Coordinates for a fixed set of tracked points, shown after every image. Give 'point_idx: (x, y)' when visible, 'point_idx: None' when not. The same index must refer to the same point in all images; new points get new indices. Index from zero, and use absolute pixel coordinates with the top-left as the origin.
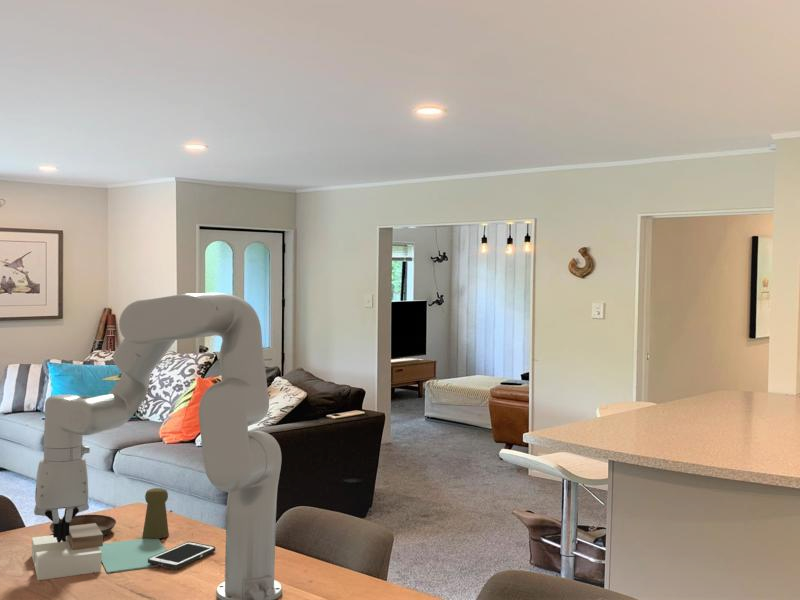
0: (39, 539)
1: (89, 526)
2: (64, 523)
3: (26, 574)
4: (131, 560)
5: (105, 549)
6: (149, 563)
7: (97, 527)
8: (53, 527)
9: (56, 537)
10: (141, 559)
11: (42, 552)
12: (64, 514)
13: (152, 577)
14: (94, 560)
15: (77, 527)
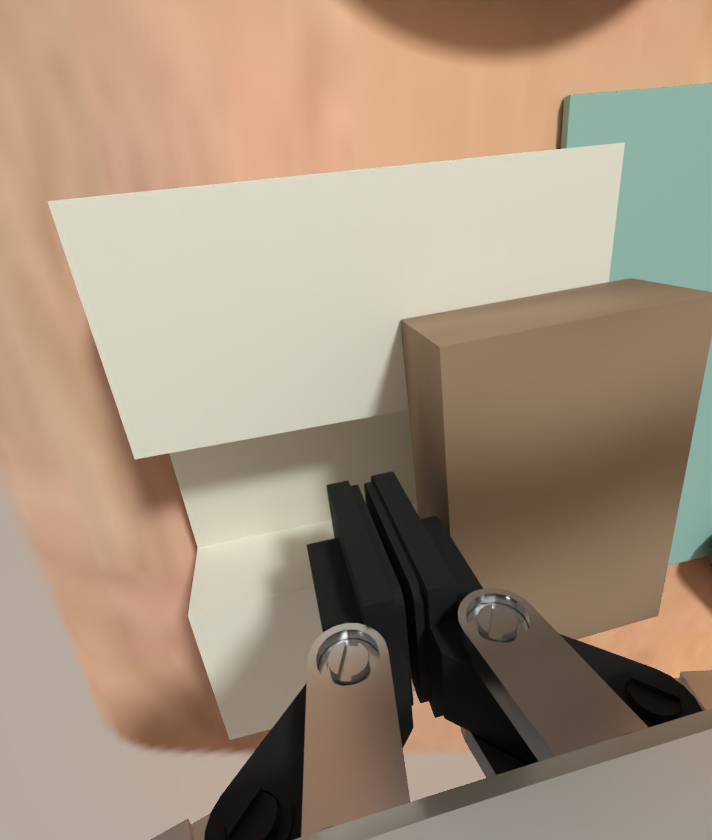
0: (152, 303)
1: (636, 403)
2: (440, 714)
3: (156, 561)
4: None
5: None
6: (708, 559)
7: (683, 446)
8: (317, 601)
9: (329, 503)
10: (705, 474)
11: (235, 624)
12: (481, 677)
13: (660, 644)
14: None
15: (534, 410)
